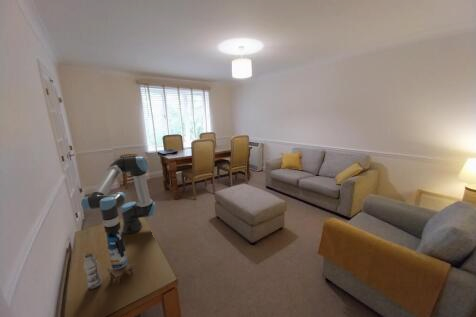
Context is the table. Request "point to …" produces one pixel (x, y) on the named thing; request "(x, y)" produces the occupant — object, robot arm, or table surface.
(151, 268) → the table surface
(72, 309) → the table surface
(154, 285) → the table surface
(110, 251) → the blue lidded jar
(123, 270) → the brown piece
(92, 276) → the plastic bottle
